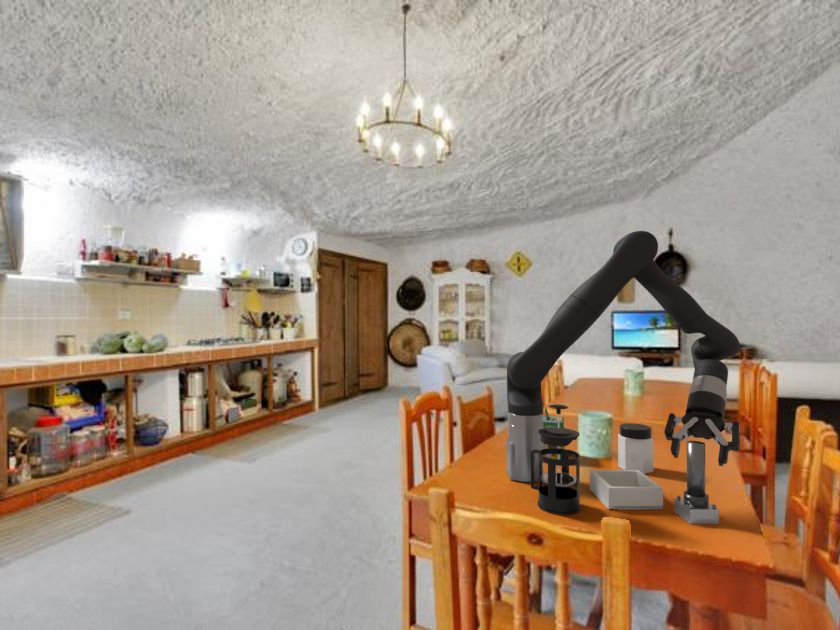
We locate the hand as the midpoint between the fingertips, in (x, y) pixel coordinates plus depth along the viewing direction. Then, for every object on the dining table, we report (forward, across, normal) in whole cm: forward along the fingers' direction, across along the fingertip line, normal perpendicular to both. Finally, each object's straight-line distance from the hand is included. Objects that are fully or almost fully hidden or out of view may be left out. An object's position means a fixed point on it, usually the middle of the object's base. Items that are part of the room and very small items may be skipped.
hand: (697, 460), depth 100 cm
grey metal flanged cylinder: (+8, 0, +5) cm, 9 cm away
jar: (-8, -19, +25) cm, 32 cm away
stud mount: (+10, 0, +7) cm, 12 cm away
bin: (+9, -15, +8) cm, 19 cm away
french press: (+19, -25, -2) cm, 32 cm away
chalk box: (-4, -43, +22) cm, 48 cm away
